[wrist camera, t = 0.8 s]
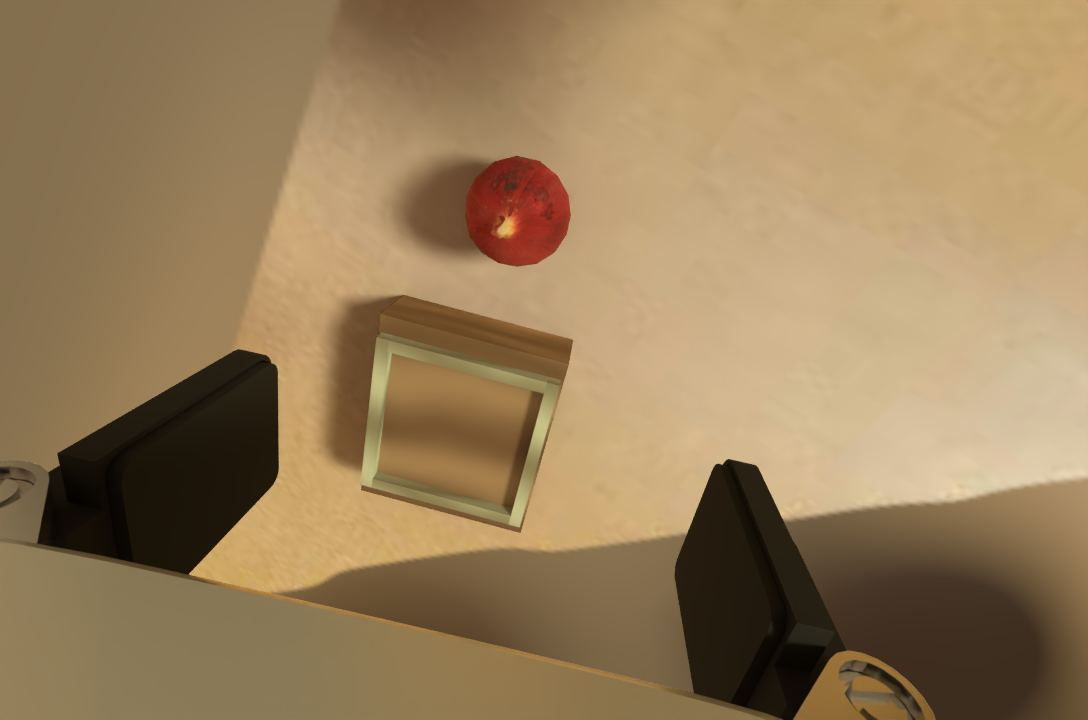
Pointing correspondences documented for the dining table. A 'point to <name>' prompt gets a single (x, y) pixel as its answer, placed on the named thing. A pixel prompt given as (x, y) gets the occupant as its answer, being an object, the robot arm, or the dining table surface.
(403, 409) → the plinth
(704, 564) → the robot arm
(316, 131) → the dining table surface
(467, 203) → the onion
